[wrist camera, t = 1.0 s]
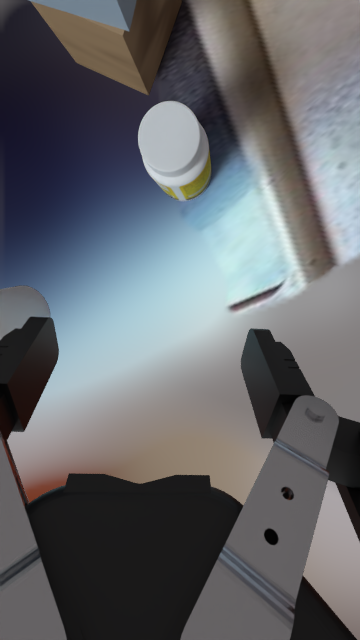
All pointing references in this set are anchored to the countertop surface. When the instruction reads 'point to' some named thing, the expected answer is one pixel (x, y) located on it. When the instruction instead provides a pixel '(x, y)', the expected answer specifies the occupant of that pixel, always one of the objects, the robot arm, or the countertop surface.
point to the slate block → (97, 10)
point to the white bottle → (20, 307)
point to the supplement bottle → (175, 150)
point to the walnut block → (118, 41)
